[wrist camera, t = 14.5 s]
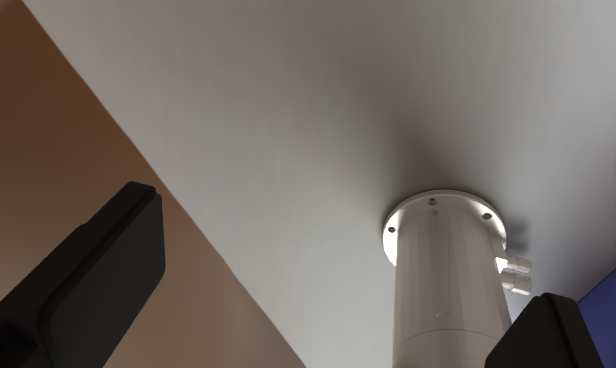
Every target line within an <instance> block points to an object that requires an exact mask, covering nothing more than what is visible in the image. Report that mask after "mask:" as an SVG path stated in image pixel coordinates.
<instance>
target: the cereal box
mask: <svg viewBox="0 0 616 368" xmlns="http://www.w3.org/2000/svg"><path fill="white" fill-rule="evenodd" d="M577 305H578V307H579V309H580V312H581V314H582V317H583V319H584V321H585V324H586V326H587V328H588V331H589V333H590V335H591V338H592V340H593V342H594V345H595V347H596V349H597V352H598V354H599V356H600V359H601V361H602V363H603V366H604V368H616V269H614V270H613V271H612V272H611V273H610V274H609V275H608V276H607V277H605V278H604V279H603V280H602V281H601V282H600V283H599V284H598V285H597V286H595V287H594V288H593V289H592V290H591V291H590V292H589V293H588V294H586V295H585V296H584V297H583V298H582V299H581V300H580V301H579V302H578V303H577Z"/></svg>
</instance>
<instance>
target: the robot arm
mask: <svg viewBox="0 0 616 368" xmlns="http://www.w3.org/2000/svg"><path fill="white" fill-rule="evenodd" d="M382 243H383V247H384V251H385V253H386V255H387V257H388V259H389V260H390V261H391V262H392V264H393V265H394V266H395V267H396V273H395V302H394V331H393V363H392V368H604V366H603V363H602V361H601V359H600V356H599V354H598V352H597V349H596V347H595V345H594V342H593V340H592V338H591V335H590V333H589V331H588V328H587V326H586V324H585V321H584V319H583V317H582V314H581V312H580V309H579V307H578V305H577V303H576V302H575V301H574V300H573V299H570V298H566V297H563V296H559V295H555V294H552V293H547V292H546V293H543V294H542V295H541V296H540V297H539V296H535V297H533V298H532V299H531V301H530V302H529V303H528V305H527V306H526V307H525V308H524V310H523V311H522V312H521V314H520V315H519V316H518V317H517V319H516V320H515V321H514V323H513V324H512V322H511V318H510V314H509V310H508V306H507V302H506V298H505V294H504V290H503V288H504V289H507V290H508V291H511V292H515V293H518V294H522V295H529V293H530V292H531V290H532V285H533V283H532V279H531V278H530V277H526V276H522V275H519V274H515V273H508V272H504V271H502V269H504V268H505V267H507V268H510V269H513V270H515V271H519V272H523V273H528V272H529V271H530V269H531V261H530V260H527V259H523V258H519V257H513V256H509V255H508V253H507V252H505V249H506V244H507V234H506V229H505V226H504V223H503V220H502V218H501V217H500V215H499V213H498V212H497V211H496V210H495V209H494V208H493V207H492V206H491V205H490V204H489V203H487V202H486V201H484V200H483V199H481V198H479V197H477V196H475V195H472V194H470V193H466V192H462V191H458V190H447V189H444V190H431V191H427V192H422V193H419V194H416V195H414V196H411V197H409V198H407V199H406V200H404V201H402V202H401V203H400V204H398V205H397V206H396V207H395V208H394V209H393V210H392V211H391V213H390V214H389V215H388V217H387V219H386V221H385V224H384V228H383V237H382ZM164 272H165V248H164V231H163V214H162V198H161V195H160V194H157V193H156V189H155V188H154V187H152V186H149V185H145V184H142V183H138V182H134V181H130V182H129V183H127V184H126V185H125V186H124V187H123V188H122V189H121V190H120V191H119V192H118V193H117V194H116V195H115V196H113V198H111V199H110V200H109V201H108V202H107V204H105V205H104V206H103V207H102V208H101V209H100V210H99V211H98V212H97V213H96V214H95V215H94V216H93V217H92V218H91V219H90V220H89V221H88V222H87V223H85V224H82V225H80V226H79V227H78V228H76V229H75V230H74V231H73V232H72V233H71V234H70V235H69V236H68V237H67V238H66V239H65V240H64V241H63V242H61V243H60V244H59V245H58V246H57V247H56V248H55V249H54V250H53V251H52V252H51V253H50V254H49V255H48V256H47V257H46V258H45V259H44V260H43V261H42V262H41V263H40V264H39V265H38V266H37V267H36V268H35V269H34V270H32V271H31V273H29V274H28V275H27V276H26V277H25V278H24V279H23V280H22V281H21V282H20V283H19V284H18V285H17V286H16V287H15V288H14V289H13V290H12V291H11V292H10V293H9V294H8V295H7V296H6V297H5V298H4V299H2V300H1V301H0V368H103V366H104V365H105V363H106V362H107V360H108V359H109V357H110V356H111V354H112V353H113V351H114V350H115V348H116V346H117V345H118V344H119V342H120V341H121V339H122V338H123V336H124V335H125V333H126V332H127V330H128V329H129V327H130V326H131V324H132V323H133V321H134V320H135V318H136V316H137V315H138V313H139V312H140V311H141V309H142V308H143V306H144V305H145V303H146V301H147V300H148V299H149V297H150V296H151V294H152V292H153V291H154V289H155V288H156V286H157V285H158V283H159V282H160V280H161V279H162V277H163V274H164Z"/></svg>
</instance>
